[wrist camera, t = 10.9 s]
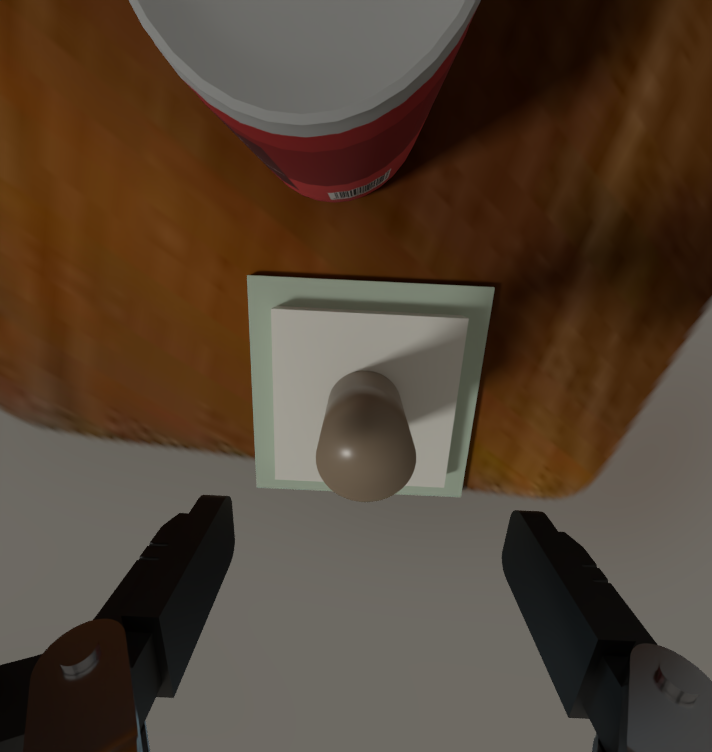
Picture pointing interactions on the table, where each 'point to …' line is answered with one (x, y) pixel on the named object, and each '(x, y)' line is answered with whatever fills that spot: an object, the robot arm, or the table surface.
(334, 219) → the table surface
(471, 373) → the mat
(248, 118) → the canned food
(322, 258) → the table surface
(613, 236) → the table surface
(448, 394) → the lid
